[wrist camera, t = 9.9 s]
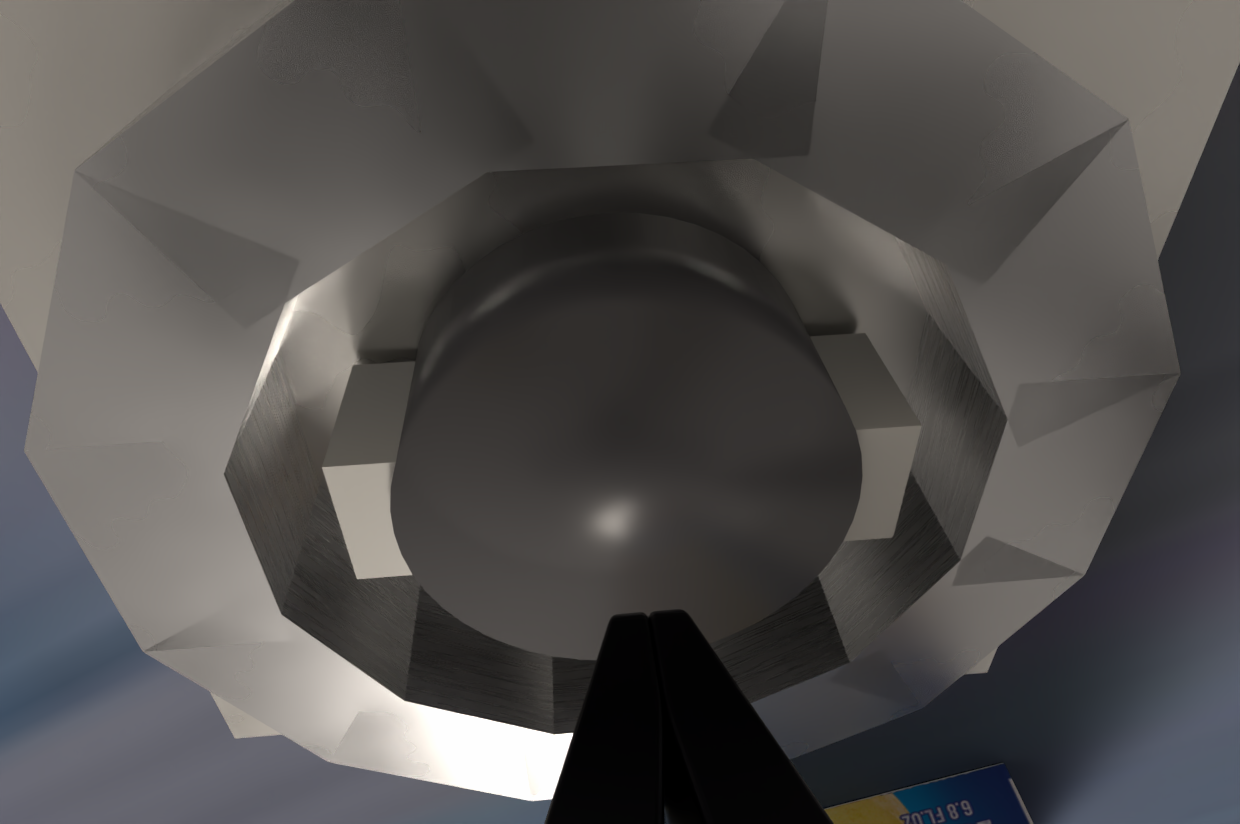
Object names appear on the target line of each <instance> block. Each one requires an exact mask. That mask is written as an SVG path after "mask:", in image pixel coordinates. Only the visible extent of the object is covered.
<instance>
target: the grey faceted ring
mask: <svg viewBox="0 0 1240 824" xmlns="http://www.w3.org/2000/svg"><path fill="white" fill-rule="evenodd" d="M1239 63H1240V0H0V303H1V305H2V307H3V309H4V311H5V312H6V314H7V316H8V318H9V320H10V322H11V324H12V325H13V327H14V329H15V331H16V333H17V335H18V337H19V338H20V340H21V342H22V344H23V346H24V348H25V350H26V351H27V353H28V355H29V357H30V359H31V361H32V363H33V364H34V366H35V368H36V370H37V372H38V376H37V381H36V387H35V393H34V398H33V404H32V409H31V415H30V420H29V426H28V432H27V437H26V443H25V448H24V452H25V454H26V455H27V457H28V459H29V460H30V462H31V464H32V465H33V467H34V469H35V470H36V472H37V474H38V475H39V477H40V479H41V481H42V482H43V484H44V486H45V487H46V489H47V491H48V492H49V494H50V496H51V497H52V499H53V501H54V502H55V504H56V506H57V508H58V509H59V511H60V513H61V514H62V516H63V518H64V519H65V521H66V523H67V524H68V526H69V528H70V529H71V531H72V533H73V535H74V536H75V538H76V540H77V541H78V543H79V545H80V546H81V548H82V550H83V551H84V553H85V555H86V556H87V558H88V560H89V562H90V563H91V565H92V567H93V568H94V570H95V572H96V573H97V575H98V577H99V578H100V580H101V582H102V583H103V585H104V587H105V589H106V590H107V592H108V594H109V595H110V597H111V599H112V600H113V602H114V604H115V605H116V607H117V609H118V611H119V612H120V614H121V616H122V617H123V619H124V621H125V622H126V624H127V626H128V627H129V629H130V631H131V632H132V634H133V636H134V638H135V639H136V641H137V643H138V644H139V646H140V648H141V649H142V651H143V652H144V653H146V654H148V655H149V656H151V657H153V658H154V659H156V660H158V661H159V662H161V663H163V664H164V665H166V666H168V667H169V668H171V669H173V670H175V671H176V672H178V673H180V674H181V675H183V676H185V677H186V678H188V679H190V680H191V681H193V682H195V683H196V684H198V685H200V686H201V687H203V688H205V689H206V690H208V691H210V693H211V695H212V697H213V698H214V700H215V702H216V704H217V706H218V708H219V710H220V711H221V713H222V715H223V717H224V719H225V721H226V723H227V724H228V726H229V728H230V730H231V732H232V734H233V736H234V737H235V739H236V738H247V737H258V736H270V735H281V734H282V735H284V736H286V737H287V738H289V739H291V740H292V741H294V742H296V743H297V744H299V745H301V746H302V747H304V748H306V749H307V750H309V751H311V752H312V753H314V754H316V755H317V756H319V757H321V758H323V759H324V760H326V761H328V762H331V763H336V764H341V765H346V766H352V767H357V768H362V769H367V770H373V771H378V772H383V773H388V774H394V775H399V776H404V777H409V778H414V779H420V780H425V781H430V782H435V783H441V784H446V785H451V786H456V787H461V788H467V789H472V790H477V791H482V792H488V793H493V794H498V795H503V796H509V797H514V798H519V799H524V800H529V801H535V800H546V799H552V798H553V795H554V792H555V789H556V785H557V782H558V779H559V776H560V773H561V770H562V767H563V763H564V760H565V757H566V754H567V751H568V748H569V745H570V741H571V738H572V735H573V732H574V729H575V726H576V723H577V719H578V716H579V713H580V710H581V707H582V704H583V701H584V697H585V694H586V691H587V688H588V685H589V682H590V679H591V675H592V672H593V669H594V666H595V663H596V660H578V659H570V658H562V657H554V656H550V655H545V654H540V653H535V652H531V651H527V650H524V649H521V648H518V647H515V646H511V645H508V644H505V643H503V642H501V641H498V640H496V639H494V638H491V637H489V636H487V635H484V634H482V633H481V632H479V631H477V630H475V629H473V628H472V627H470V626H468V625H466V624H464V623H463V622H461V621H460V620H459V619H457V618H456V617H454V616H453V615H452V614H450V613H449V612H448V611H446V610H445V609H443V608H442V607H441V606H440V605H439V604H438V603H437V602H436V601H435V600H434V599H433V598H432V597H431V596H430V595H429V594H428V593H427V592H426V591H425V590H424V589H423V587H422V586H421V585H420V583H419V582H418V581H417V580H416V578H415V577H414V576H413V575H406V576H393V577H380V578H367V579H357V578H356V575H355V572H354V568H353V565H352V562H351V559H350V556H349V553H348V549H347V546H346V543H345V540H344V537H343V533H342V530H341V527H340V524H339V521H338V517H337V514H336V511H335V508H334V505H333V501H332V498H331V495H330V492H329V489H328V485H327V482H326V479H325V476H324V473H323V469H322V465H323V462H324V459H325V455H326V452H327V449H328V445H329V442H330V439H331V435H332V432H333V429H334V426H335V422H336V419H337V416H338V412H339V409H340V406H341V402H342V399H343V396H344V392H345V389H346V386H347V382H348V379H349V376H350V373H351V369H352V366H353V365H365V364H381V363H396V362H412V361H416V356H417V351H418V346H419V343H420V341H421V338H422V335H423V333H424V330H425V327H426V325H427V323H428V321H429V319H430V317H431V316H432V314H433V312H434V310H435V309H436V307H437V305H438V303H439V302H440V300H441V299H442V298H443V297H444V295H445V294H446V293H447V292H448V290H449V289H450V288H451V287H452V285H453V284H454V283H455V282H456V281H457V280H458V279H459V278H460V277H461V276H462V275H463V274H464V273H465V272H466V271H467V270H468V269H469V268H470V267H471V266H472V265H474V264H475V263H476V262H477V261H479V260H480V259H482V258H483V257H484V256H486V255H487V254H489V253H490V252H491V251H493V250H494V249H496V248H497V247H499V246H500V245H502V244H504V243H506V242H508V241H510V240H512V239H514V238H516V237H517V236H519V235H521V234H523V233H526V232H528V231H531V230H534V229H536V228H539V227H542V226H544V225H547V224H550V223H553V222H557V221H561V220H566V219H570V218H574V217H578V216H585V215H594V214H603V213H643V214H650V215H657V216H665V217H670V218H674V219H677V220H681V221H685V222H689V223H692V224H696V225H698V226H701V227H703V228H705V229H708V230H710V231H713V232H715V233H717V234H720V235H722V236H723V237H725V238H727V239H728V240H730V241H732V242H734V243H735V244H737V245H739V246H740V247H742V248H744V249H745V250H746V251H747V252H749V253H750V254H751V255H752V256H753V257H755V258H756V259H757V260H758V261H760V262H761V263H762V264H763V265H764V266H765V267H766V268H767V269H768V270H769V271H770V272H771V274H772V275H773V276H774V277H775V278H776V279H777V280H778V281H779V282H780V284H781V285H782V287H783V289H784V290H785V292H786V293H787V295H788V296H789V298H790V299H791V301H792V302H793V304H794V306H795V308H796V310H797V312H798V314H799V316H800V318H801V320H802V322H803V324H804V326H805V328H806V330H807V332H808V334H809V336H825V335H841V334H857V333H866V335H867V336H868V338H869V340H870V341H871V343H872V345H873V346H874V348H875V349H876V351H877V353H878V354H879V356H880V358H881V359H882V361H883V363H884V364H885V366H886V367H887V369H888V371H889V372H890V374H891V376H892V377H893V379H894V381H895V382H896V384H897V385H898V387H899V389H900V390H901V392H902V394H903V395H904V397H905V399H906V400H907V402H908V403H909V405H910V407H911V408H912V410H913V412H914V413H915V415H916V417H917V418H918V420H919V421H920V423H921V425H922V427H921V431H920V435H919V439H918V442H917V446H916V450H915V454H914V458H913V462H912V466H911V470H910V473H909V477H908V481H907V485H906V489H905V493H904V497H903V501H902V504H901V508H900V512H899V516H898V520H897V524H896V528H895V532H894V535H893V538H881V539H868V540H855V541H843V543H842V544H841V546H840V547H839V549H838V550H837V552H836V553H835V555H834V556H833V558H832V559H831V561H830V562H829V563H828V564H827V565H826V567H825V568H824V569H823V570H822V571H821V572H820V574H819V575H818V576H817V577H816V578H815V579H814V580H813V581H812V582H811V583H810V584H809V585H808V586H807V587H806V588H805V589H803V590H802V591H801V592H800V593H799V594H798V595H797V596H796V597H794V598H793V599H792V600H790V601H789V602H788V603H786V604H785V605H784V606H782V607H781V608H780V609H778V610H777V611H775V612H774V613H772V614H770V615H769V616H767V617H765V618H764V619H762V620H760V621H759V622H757V623H755V624H753V625H751V626H749V627H747V628H745V629H743V630H741V631H739V632H737V633H735V634H733V635H730V636H728V637H725V638H723V639H720V640H717V641H715V642H712V643H710V645H711V647H712V648H713V650H714V651H715V653H716V654H717V655H718V657H719V658H720V660H721V661H722V663H723V664H724V666H725V667H726V668H727V670H728V671H729V673H730V674H731V676H732V677H733V679H734V680H735V681H736V683H737V684H738V686H739V687H740V689H741V690H742V692H743V693H744V694H745V696H746V697H747V699H748V700H749V702H750V703H751V705H752V706H753V707H754V709H755V710H756V712H757V713H758V715H759V716H760V718H761V719H762V720H763V722H764V723H765V725H766V726H767V728H768V729H769V731H770V732H771V733H772V735H773V736H774V738H775V739H776V741H777V742H778V744H779V745H780V746H781V748H782V749H783V751H784V752H785V754H786V755H787V757H788V758H789V759H790V760H791V759H793V758H796V757H798V756H801V755H804V754H806V753H809V752H811V751H814V750H817V749H819V748H822V747H824V746H827V745H829V744H832V743H835V742H837V741H840V740H842V739H845V738H848V737H850V736H853V735H855V734H858V733H861V732H863V731H866V730H868V729H871V728H874V727H876V726H879V725H881V724H884V723H886V722H889V721H892V720H894V719H897V718H899V717H902V716H905V715H907V714H910V713H912V712H915V711H918V710H920V709H923V708H924V707H925V706H926V705H927V704H929V703H930V702H931V701H932V700H933V699H935V698H936V697H937V696H938V695H940V694H941V693H942V692H943V691H944V690H946V689H947V688H948V687H949V686H950V685H952V684H953V683H954V682H955V681H957V680H958V679H959V678H960V677H961V676H963V675H965V674H976V673H987V672H988V670H989V667H990V665H991V662H992V660H993V657H994V655H995V653H996V650H997V648H998V646H999V645H1000V644H1002V643H1003V642H1004V641H1005V640H1006V639H1008V638H1009V637H1010V636H1011V635H1013V634H1014V633H1015V632H1016V631H1017V630H1019V629H1020V628H1021V627H1022V626H1024V625H1025V624H1026V623H1027V622H1028V621H1030V620H1031V619H1032V618H1033V617H1034V616H1036V615H1037V614H1038V613H1039V612H1041V611H1042V610H1043V609H1044V608H1045V607H1047V606H1048V605H1049V604H1050V603H1052V602H1053V601H1054V600H1055V599H1056V598H1058V597H1059V596H1060V595H1061V594H1062V593H1064V592H1065V591H1066V590H1067V589H1069V588H1070V587H1071V586H1072V585H1073V584H1075V583H1076V582H1077V581H1078V580H1080V579H1081V578H1082V577H1083V576H1084V575H1085V574H1086V572H1087V570H1088V567H1089V565H1090V563H1091V561H1092V559H1093V557H1094V555H1095V553H1096V551H1097V548H1098V546H1099V544H1100V542H1101V540H1102V538H1103V536H1104V534H1105V532H1106V530H1107V527H1108V525H1109V523H1110V521H1111V519H1112V517H1113V515H1114V513H1115V511H1116V509H1117V506H1118V504H1119V502H1120V500H1121V498H1122V496H1123V494H1124V492H1125V490H1126V488H1127V485H1128V483H1129V481H1130V479H1131V477H1132V475H1133V473H1134V471H1135V469H1136V466H1137V464H1138V462H1139V460H1140V458H1141V456H1142V454H1143V452H1144V450H1145V448H1146V445H1147V443H1148V441H1149V439H1150V437H1151V435H1152V433H1153V431H1154V429H1155V427H1156V424H1157V422H1158V420H1159V418H1160V416H1161V414H1162V412H1163V410H1164V408H1165V405H1166V403H1167V401H1168V399H1169V397H1170V395H1171V393H1172V391H1173V389H1174V387H1175V384H1176V382H1177V380H1178V378H1179V376H1180V374H1181V372H1180V367H1179V362H1178V357H1177V352H1176V347H1175V342H1174V337H1173V333H1172V328H1171V323H1170V318H1169V313H1168V308H1167V303H1166V298H1165V293H1164V289H1163V284H1162V279H1161V274H1160V269H1159V264H1158V258H1159V256H1160V254H1161V251H1162V249H1163V246H1164V244H1165V242H1166V239H1167V237H1168V234H1169V232H1170V229H1171V227H1172V225H1173V222H1174V220H1175V217H1176V215H1177V213H1178V210H1179V208H1180V205H1181V203H1182V200H1183V198H1184V196H1185V193H1186V191H1187V188H1188V186H1189V184H1190V181H1191V179H1192V176H1193V174H1194V171H1195V169H1196V167H1197V164H1198V162H1199V159H1200V157H1201V155H1202V152H1203V150H1204V147H1205V145H1206V142H1207V140H1208V138H1209V135H1210V133H1211V130H1212V128H1213V125H1214V123H1215V121H1216V118H1217V116H1218V113H1219V111H1220V109H1221V106H1222V104H1223V101H1224V99H1225V96H1226V94H1227V92H1228V89H1229V87H1230V84H1231V82H1232V80H1233V77H1234V75H1235V72H1236V70H1237V67H1238V65H1239Z"/></svg>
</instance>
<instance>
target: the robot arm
mask: <svg viewBox="0 0 1240 824" xmlns="http://www.w3.org/2000/svg"><path fill="white" fill-rule="evenodd" d="M664 813H665V818H666V823H667V824H834V823H833V822H832V820H831V819H830V817H829V816H828V814H827V813H826V811H825V810H824V809H823V807H822V806H821V804H820V803H819V801H818V800H817V798H816V797H815V796H814V794H813V793H812V791H811V790H810V788H809V787H808V785H807V784H806V783H805V781H804V780H803V778H802V777H801V775H800V774H799V772H798V771H797V770H796V768H795V767H794V765H793V764H792V762H791V761H790V759H789V758H788V757H787V755H786V754H785V752H784V751H783V749H782V748H781V746H780V745H779V744H778V742H777V741H776V739H775V738H774V736H773V735H772V733H771V732H770V731H769V729H768V728H767V726H766V725H765V723H764V722H763V720H762V719H761V718H760V716H759V715H758V713H757V712H756V710H755V709H754V707H753V706H752V705H751V703H750V702H749V700H748V699H747V697H746V696H745V694H744V693H743V692H742V690H741V689H740V687H739V686H738V684H737V683H736V681H735V680H734V679H733V677H732V676H731V674H730V673H729V671H728V670H727V668H726V667H725V666H724V664H723V663H722V661H721V660H720V658H719V657H718V655H717V654H716V653H715V651H714V650H713V648H712V647H711V645H710V644H709V642H708V641H707V639H706V638H705V637H704V635H703V634H702V632H701V631H700V629H699V628H698V626H697V625H696V624H695V622H694V621H693V619H692V618H691V616H690V615H689V614H688V613H687V612H686V611H685V610H682V609H672V610H660V611H653V612H651V613H650V615H649V617H648V616H647V615H646V614H645V613H643V612H635V613H623V614H615V615H613V616H612V617H611V618H610V620H609V622H608V625H607V628H606V631H605V635H604V638H603V641H602V644H601V647H600V650H599V653H598V657H597V660H596V663H595V666H594V669H593V672H592V675H591V679H590V682H589V685H588V688H587V691H586V694H585V697H584V701H583V704H582V707H581V710H580V713H579V716H578V719H577V723H576V726H575V729H574V732H573V735H572V738H571V741H570V745H569V748H568V751H567V754H566V757H565V760H564V763H563V767H562V770H561V773H560V776H559V779H558V782H557V785H556V789H555V792H554V795H553V798H552V801H551V804H550V807H549V811H548V814H547V817H546V820H545V823H544V824H664Z"/></svg>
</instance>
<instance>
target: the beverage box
mask: <svg viewBox="0 0 1240 824" xmlns="http://www.w3.org/2000/svg"><path fill="white" fill-rule="evenodd" d="M824 810H825V811H826V813H827V814H828V816H829V817H830V819H831V820H832V822H833V823H834V824H1033V822H1032V819H1031V817H1030V815H1029V813H1028V811H1027V809H1026V807H1025V805H1024V803H1023V801H1022V799H1021V797H1020V795H1019V793H1018V790H1017V788H1016V786H1015V784H1014V782H1013V780H1012V778H1011V776H1010V774H1009V772H1008V770H1007V768H1006V766H1005V764H1004V763H999V764H995V765H991V766H987V767H984V768H980V769H976V770H972V771H968V772H964V773H960V774H956V775H953V776H949V777H945V778H941V779H937V780H933V781H929V782H925V783H922V784H918V785H914V786H910V787H906V788H902V789H898V790H894V791H891V792H887V793H883V794H879V795H875V796H871V797H867V798H863V799H860V800H856V801H852V802H848V803H844V804H840V805H836V806H832V807H829V808H825V809H824Z"/></svg>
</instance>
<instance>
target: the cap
mask: <svg viewBox="0 0 1240 824" xmlns="http://www.w3.org/2000/svg"><path fill="white" fill-rule="evenodd" d="M921 427H922V425H921V423H920V421H919V420H918V418H917V417H916V415H915V413H914V412H913V410H912V408H911V407H910V405H909V403H908V402H907V400H906V399H905V397H904V395H903V394H902V392H901V390H900V389H899V387H898V385H897V384H896V382H895V381H894V379H893V377H892V376H891V374H890V372H889V371H888V369H887V367H886V366H885V364H884V363H883V361H882V359H881V358H880V356H879V354H878V353H877V351H876V349H875V348H874V346H873V345H872V343H871V341H870V340H869V338H868V336H867V335H866V333H857V334H841V335H825V336H809V334H808V332H807V330H806V328H805V326H804V324H803V322H802V320H801V318H800V316H799V314H798V312H797V310H796V308H795V306H794V304H793V302H792V301H791V299H790V298H789V296H788V295H787V293H786V292H785V290H784V289H783V287H782V285H781V284H780V282H779V281H778V280H777V279H776V278H775V277H774V276H773V275H772V274H771V272H770V271H769V270H768V269H767V268H766V267H765V266H764V265H763V264H762V263H761V262H760V261H758V260H757V259H756V258H755V257H753V256H752V255H751V254H750V253H749V252H747V251H746V250H745V249H744V248H742V247H740V246H739V245H737V244H735V243H734V242H732V241H730V240H728V239H727V238H725V237H723V236H722V235H720V234H717V233H715V232H713V231H710V230H708V229H705V228H703V227H701V226H698V225H696V224H692V223H689V222H685V221H681V220H677V219H674V218H670V217H665V216H657V215H650V214H643V213H603V214H594V215H585V216H578V217H574V218H570V219H566V220H561V221H557V222H553V223H550V224H547V225H544V226H542V227H539V228H536V229H534V230H531V231H528V232H526V233H523V234H521V235H519V236H517V237H516V238H514V239H512V240H510V241H508V242H506V243H504V244H502V245H500V246H499V247H497V248H496V249H494V250H493V251H491V252H490V253H489V254H487V255H486V256H484V257H483V258H482V259H480V260H479V261H477V262H476V263H475V264H474V265H472V266H471V267H470V268H469V269H468V270H467V271H466V272H465V273H464V274H463V275H462V276H461V277H460V278H459V279H458V280H457V281H456V282H455V283H454V284H453V285H452V287H451V288H450V289H449V290H448V292H447V293H446V294H445V295H444V297H443V298H442V299H441V300H440V302H439V303H438V305H437V307H436V309H435V310H434V312H433V314H432V316H431V317H430V319H429V321H428V323H427V325H426V327H425V330H424V333H423V335H422V338H421V341H420V343H419V346H418V351H417V356H416V361H412V362H396V363H381V364H365V365H353V366H352V369H351V373H350V376H349V379H348V382H347V386H346V389H345V392H344V396H343V399H342V402H341V406H340V409H339V412H338V416H337V419H336V422H335V426H334V429H333V432H332V435H331V439H330V442H329V445H328V449H327V452H326V455H325V459H324V462H323V465H322V469H323V473H324V476H325V479H326V482H327V485H328V489H329V492H330V495H331V498H332V501H333V505H334V508H335V511H336V514H337V517H338V521H339V524H340V527H341V530H342V533H343V537H344V540H345V543H346V546H347V549H348V553H349V556H350V559H351V562H352V565H353V568H354V572H355V575H356V578H357V579H367V578H380V577H393V576H406V575H413V576H414V577H415V578H416V580H417V581H418V582H419V583H420V585H421V586H422V587H423V589H424V590H425V591H426V592H427V593H428V594H429V595H430V596H431V597H432V598H433V599H434V600H435V601H436V602H437V603H438V604H439V605H440V606H441V607H442V608H443V609H445V610H446V611H448V612H449V613H450V614H452V615H453V616H454V617H456V618H457V619H459V620H460V621H461V622H463V623H464V624H466V625H468V626H470V627H472V628H473V629H475V630H477V631H479V632H481V633H482V634H484V635H487V636H489V637H491V638H494V639H496V640H498V641H501V642H503V643H505V644H508V645H511V646H515V647H518V648H521V649H524V650H527V651H531V652H535V653H540V654H545V655H550V656H554V657H562V658H570V659H578V660H597V657H598V653H599V650H600V647H601V644H602V641H603V638H604V635H605V631H606V628H607V625H608V622H609V620H610V618H611V617H612V616H613V615H615V614H623V613H635V612H643V613H645V614H646V615H647V616H648V617H649V615H650V613H651V612H653V611H660V610H672V609H682V610H685V611H686V612H687V613H688V614H689V615H690V616H691V618H692V619H693V621H694V622H695V624H696V625H697V626H698V628H699V629H700V631H701V632H702V634H703V635H704V637H705V638H706V639H707V641H708V642H709V644H710V643H712V642H715V641H717V640H720V639H723V638H725V637H728V636H730V635H733V634H735V633H737V632H739V631H741V630H743V629H745V628H747V627H749V626H751V625H753V624H755V623H757V622H759V621H760V620H762V619H764V618H765V617H767V616H769V615H770V614H772V613H774V612H775V611H777V610H778V609H780V608H781V607H782V606H784V605H785V604H786V603H788V602H789V601H790V600H792V599H793V598H794V597H796V596H797V595H798V594H799V593H800V592H801V591H802V590H803V589H805V588H806V587H807V586H808V585H809V584H810V583H811V582H812V581H813V580H814V579H815V578H816V577H817V576H818V575H819V574H820V572H821V571H822V570H823V569H824V568H825V567H826V565H827V564H828V563H829V562H830V561H831V559H832V558H833V556H834V555H835V553H836V552H837V550H838V549H839V547H840V546H841V544H842V543H843V541H855V540H868V539H881V538H893V535H894V532H895V528H896V524H897V520H898V516H899V512H900V508H901V504H902V501H903V497H904V493H905V489H906V485H907V481H908V477H909V473H910V470H911V466H912V462H913V458H914V454H915V450H916V446H917V442H918V439H919V435H920V431H921Z"/></svg>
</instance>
